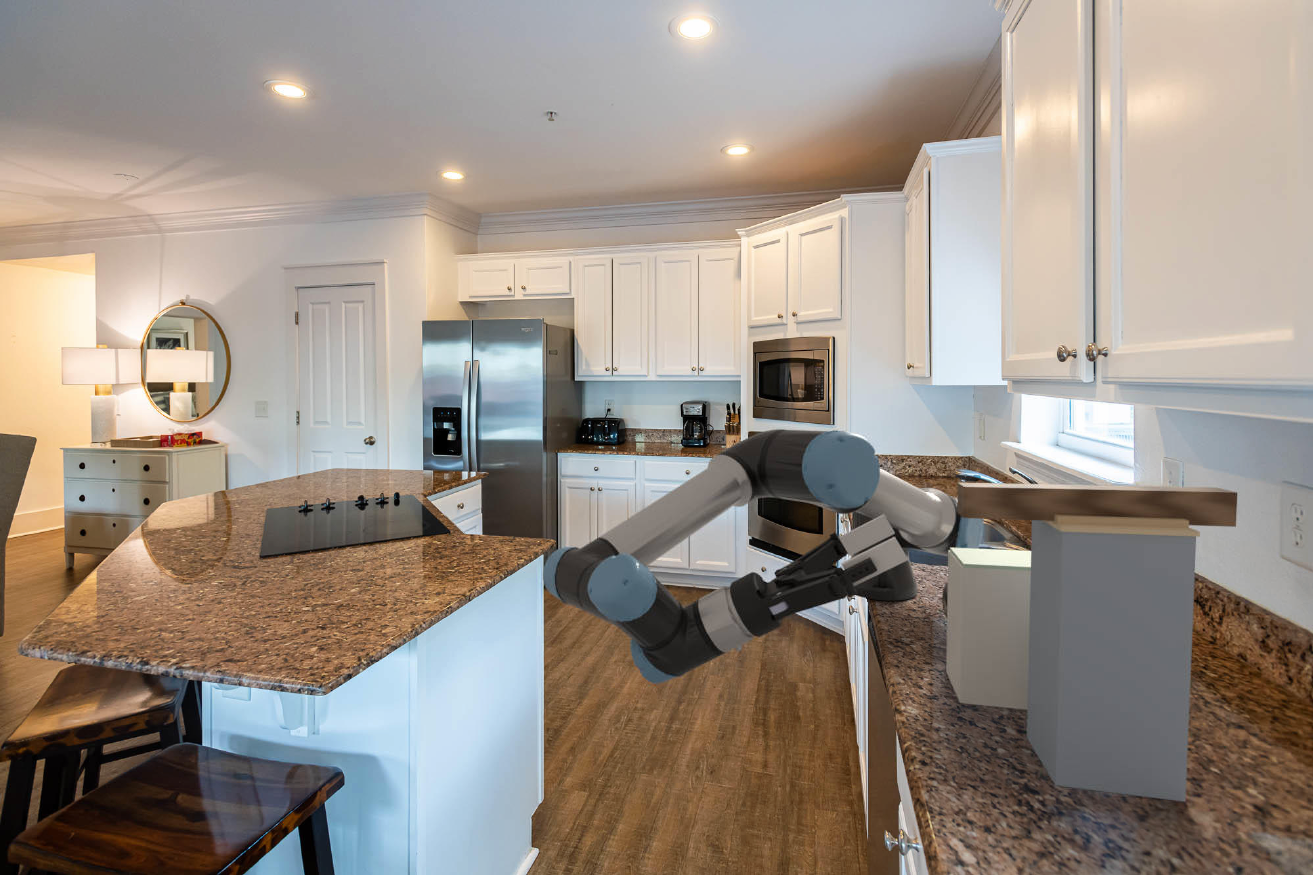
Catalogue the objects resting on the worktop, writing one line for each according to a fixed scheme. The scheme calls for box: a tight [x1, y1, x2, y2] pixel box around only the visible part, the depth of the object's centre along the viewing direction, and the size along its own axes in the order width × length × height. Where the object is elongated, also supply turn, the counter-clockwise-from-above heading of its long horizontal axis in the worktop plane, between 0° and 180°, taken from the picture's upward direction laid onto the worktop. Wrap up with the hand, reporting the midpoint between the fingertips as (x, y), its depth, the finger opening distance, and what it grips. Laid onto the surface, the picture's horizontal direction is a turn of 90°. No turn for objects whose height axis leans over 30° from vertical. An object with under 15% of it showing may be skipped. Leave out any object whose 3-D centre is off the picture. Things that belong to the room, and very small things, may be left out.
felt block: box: [945, 548, 1031, 711], centre depth 89 cm, size 20×10×20 cm, turn 75°
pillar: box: [1026, 515, 1201, 803], centre depth 71 cm, size 12×10×29 cm
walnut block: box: [956, 482, 1238, 528], centre depth 71 cm, size 26×4×4 cm, turn 75°
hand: (895, 534), depth 76 cm, fingers open, 13 cm apart
